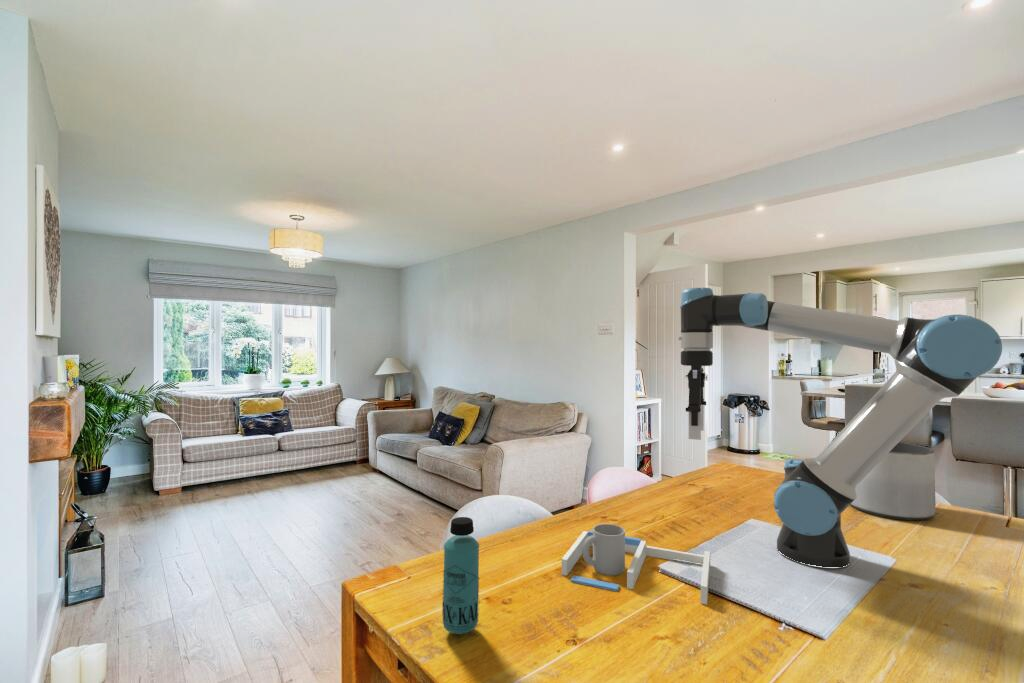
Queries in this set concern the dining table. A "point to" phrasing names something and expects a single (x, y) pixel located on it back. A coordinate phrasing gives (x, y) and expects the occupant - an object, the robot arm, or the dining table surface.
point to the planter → (900, 485)
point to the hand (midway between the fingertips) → (696, 434)
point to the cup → (606, 549)
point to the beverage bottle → (461, 578)
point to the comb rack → (635, 562)
